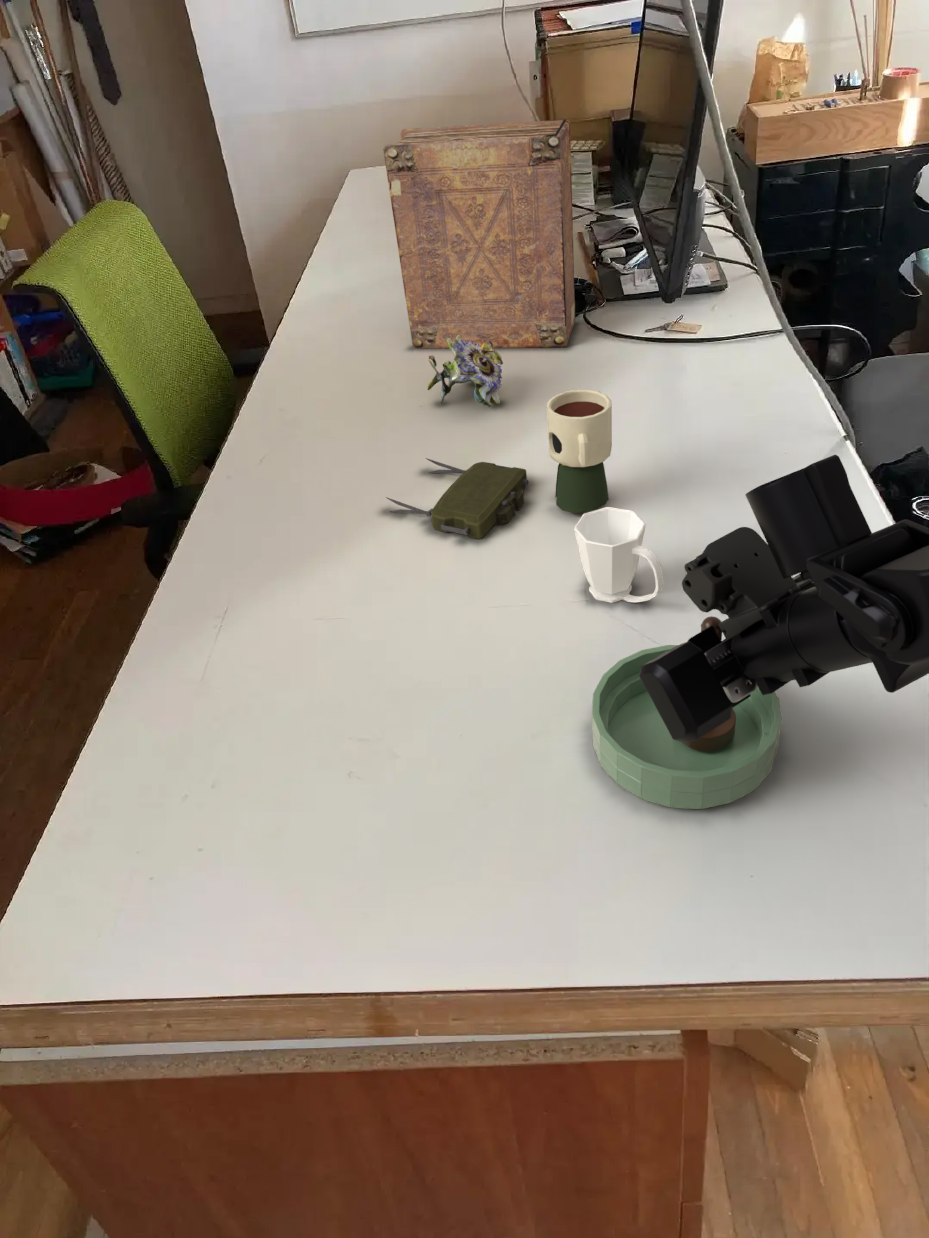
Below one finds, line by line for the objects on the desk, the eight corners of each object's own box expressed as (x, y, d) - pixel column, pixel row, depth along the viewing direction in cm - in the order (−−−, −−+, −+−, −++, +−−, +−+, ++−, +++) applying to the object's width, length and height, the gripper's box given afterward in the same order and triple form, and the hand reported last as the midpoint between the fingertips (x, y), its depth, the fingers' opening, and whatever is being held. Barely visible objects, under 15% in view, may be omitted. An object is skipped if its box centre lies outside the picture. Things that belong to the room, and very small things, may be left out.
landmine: (488, 526, 103) (375, 503, 110) (490, 546, 105) (379, 521, 112) (540, 464, 113) (434, 445, 119) (542, 483, 114) (437, 464, 121)
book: (411, 348, 150) (381, 146, 131) (426, 325, 157) (399, 129, 137) (567, 347, 144) (559, 135, 125) (576, 323, 150) (569, 118, 131)
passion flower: (496, 437, 135) (503, 397, 124) (422, 429, 135) (421, 389, 124) (502, 368, 138) (509, 322, 127) (429, 360, 138) (430, 314, 127)
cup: (607, 561, 101) (606, 498, 96) (681, 599, 95) (685, 533, 89) (562, 591, 97) (559, 528, 92) (636, 633, 91) (637, 567, 86)
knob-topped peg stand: (741, 717, 80) (753, 605, 72) (726, 758, 77) (737, 646, 69) (683, 703, 82) (689, 593, 74) (666, 743, 79) (671, 631, 71)
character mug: (548, 482, 114) (543, 384, 106) (606, 476, 114) (605, 378, 106) (555, 532, 106) (549, 430, 98) (618, 526, 105) (617, 424, 97)
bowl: (792, 705, 82) (798, 667, 79) (751, 836, 72) (756, 799, 69) (626, 665, 88) (626, 629, 85) (567, 781, 78) (565, 745, 75)
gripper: (858, 472, 66) (731, 535, 80) (661, 579, 59) (560, 627, 73) (935, 611, 65) (793, 650, 80) (745, 735, 58) (627, 753, 73)
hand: (696, 666), depth 76 cm, fingers closed on knob-topped peg stand
